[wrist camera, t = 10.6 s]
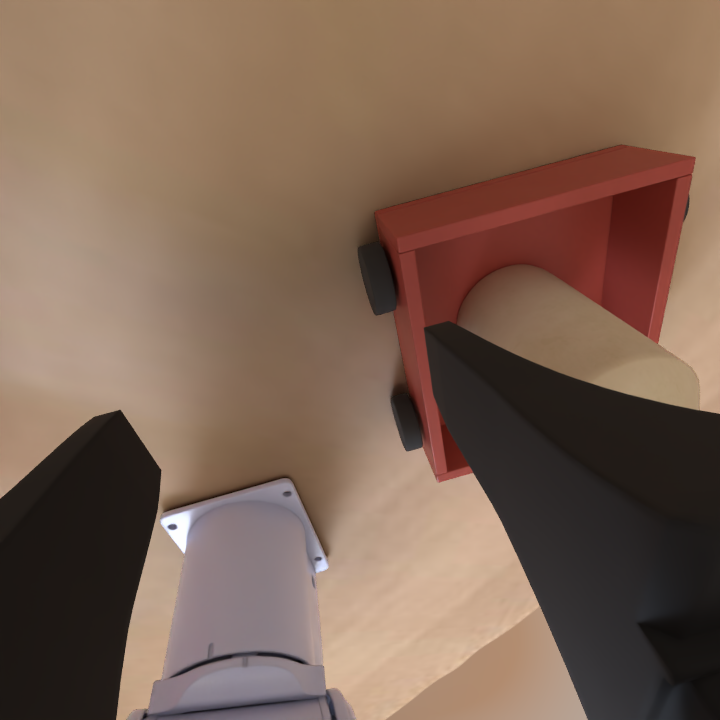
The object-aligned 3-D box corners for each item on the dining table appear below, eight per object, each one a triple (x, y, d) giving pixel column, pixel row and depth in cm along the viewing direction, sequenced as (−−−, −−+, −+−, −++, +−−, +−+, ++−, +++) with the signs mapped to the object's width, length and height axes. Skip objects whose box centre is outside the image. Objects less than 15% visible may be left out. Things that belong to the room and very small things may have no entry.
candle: (544, 240, 20) (740, 350, 12) (570, 328, 23) (741, 466, 15) (438, 301, 21) (550, 445, 12) (476, 378, 24) (588, 537, 15)
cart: (594, 381, 26) (642, 424, 23) (416, 432, 26) (437, 483, 22) (621, 144, 19) (697, 156, 16) (373, 211, 19) (396, 238, 15)
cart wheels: (604, 431, 29) (640, 468, 26) (409, 487, 28) (425, 531, 26) (642, 159, 19) (706, 172, 17) (353, 237, 19) (368, 264, 16)
